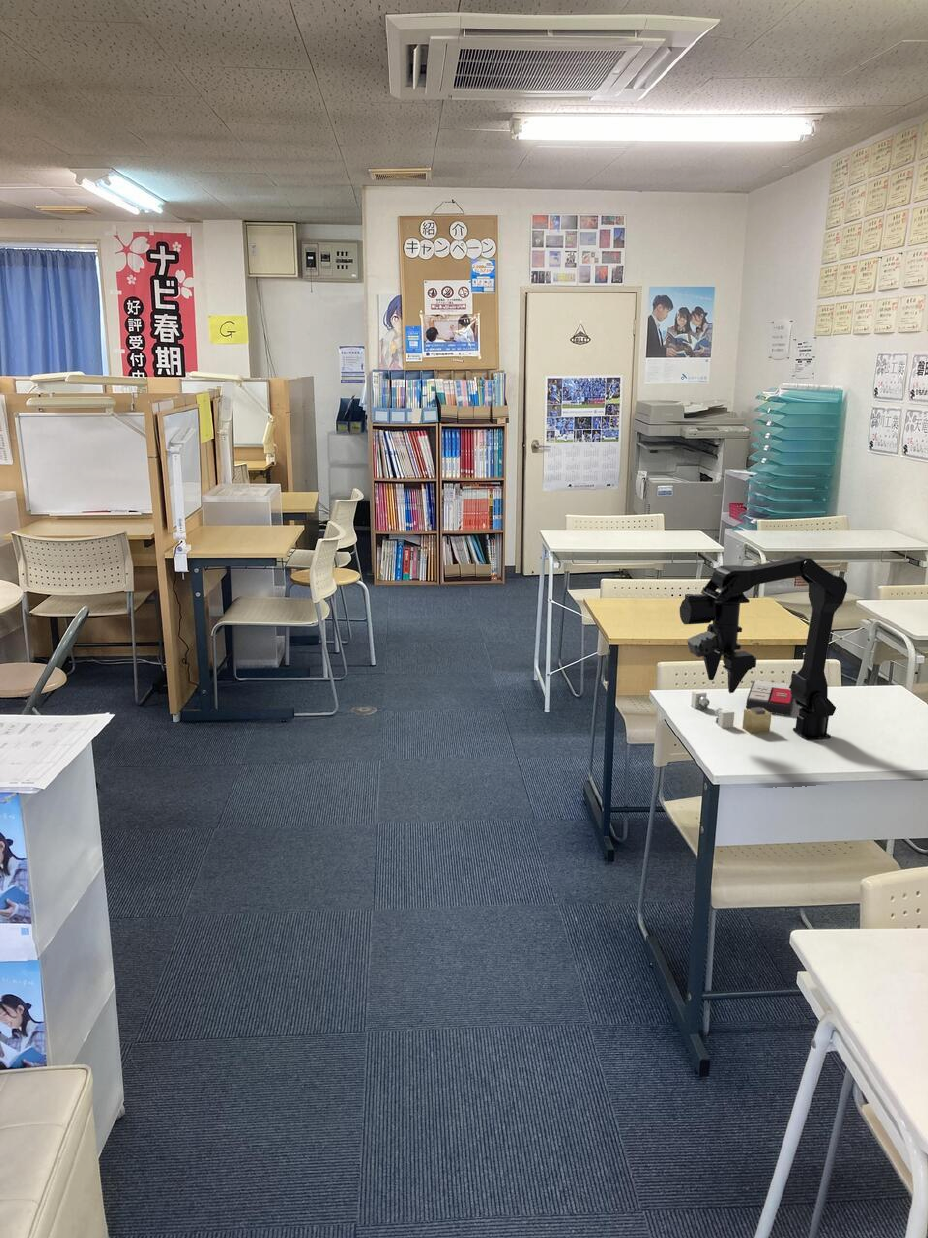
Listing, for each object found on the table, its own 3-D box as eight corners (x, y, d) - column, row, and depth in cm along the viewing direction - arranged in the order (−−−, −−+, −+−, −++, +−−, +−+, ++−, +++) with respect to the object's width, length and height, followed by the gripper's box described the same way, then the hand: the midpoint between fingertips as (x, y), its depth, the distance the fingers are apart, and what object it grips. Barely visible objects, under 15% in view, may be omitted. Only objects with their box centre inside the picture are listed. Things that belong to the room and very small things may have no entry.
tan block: (742, 728, 226) (744, 707, 225) (760, 727, 228) (762, 705, 226) (751, 734, 223) (753, 712, 221) (769, 733, 224) (771, 711, 222)
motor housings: (701, 704, 242) (703, 690, 241) (732, 727, 227) (734, 711, 226) (691, 705, 241) (692, 691, 240) (721, 728, 226) (723, 712, 225)
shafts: (704, 707, 240) (705, 695, 239) (727, 724, 229) (728, 711, 228) (696, 708, 239) (697, 695, 238) (719, 725, 228) (720, 712, 227)
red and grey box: (746, 697, 238) (753, 677, 252) (745, 712, 240) (752, 692, 253) (791, 703, 234) (796, 683, 247) (789, 719, 236) (794, 698, 249)
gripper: (674, 613, 217) (670, 676, 221) (714, 635, 200) (709, 703, 204) (717, 610, 220) (712, 672, 224) (760, 631, 202) (754, 698, 206)
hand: (720, 686), depth 214 cm, fingers open, 9 cm apart
